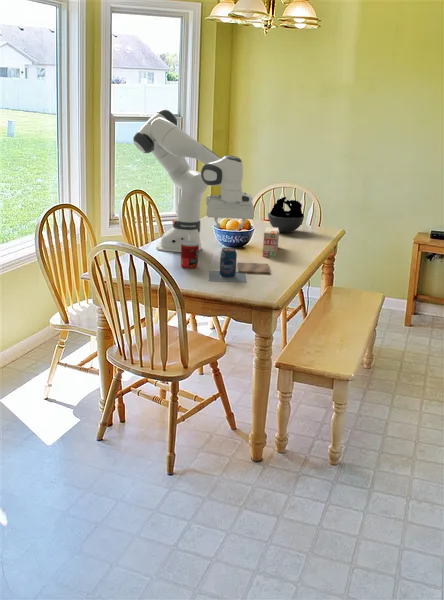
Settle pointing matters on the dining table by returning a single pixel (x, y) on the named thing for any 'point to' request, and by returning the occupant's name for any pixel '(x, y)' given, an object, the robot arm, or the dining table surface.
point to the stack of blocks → (270, 242)
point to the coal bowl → (286, 215)
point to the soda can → (228, 262)
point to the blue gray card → (237, 278)
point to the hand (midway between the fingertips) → (229, 228)
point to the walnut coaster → (253, 268)
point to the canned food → (189, 254)
